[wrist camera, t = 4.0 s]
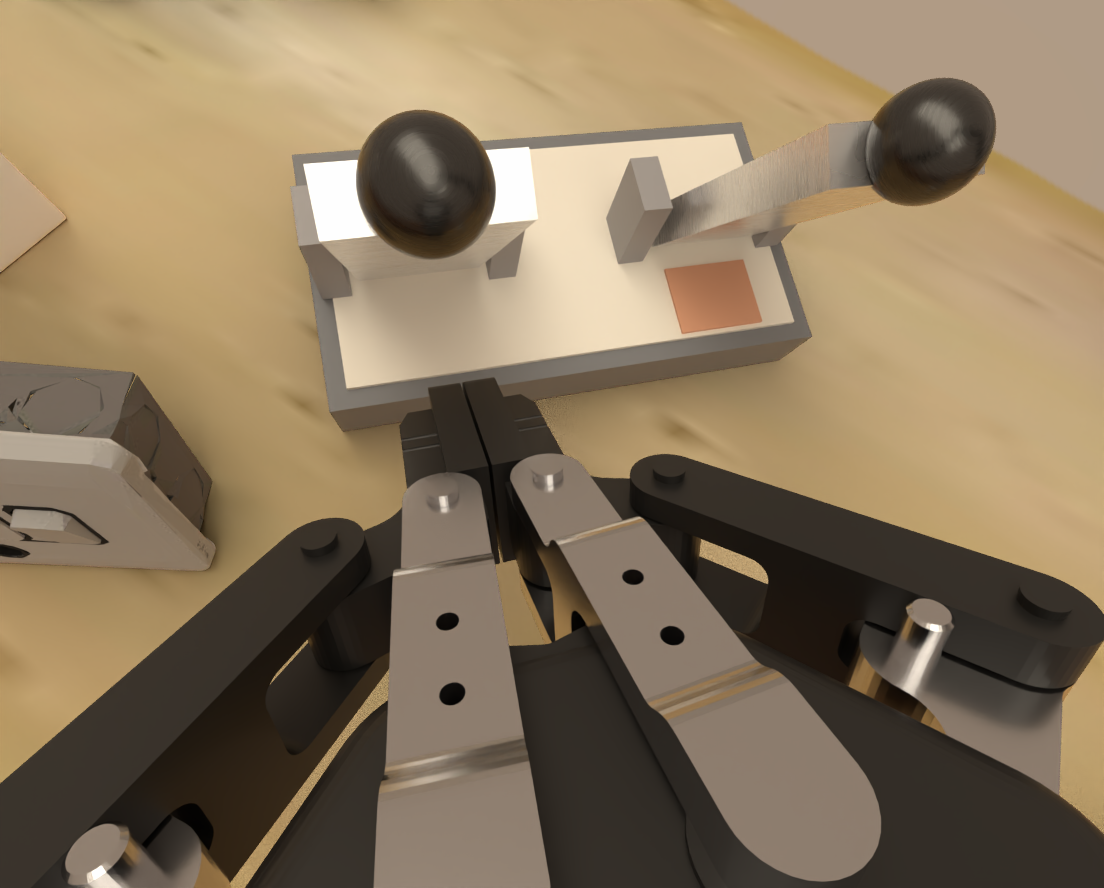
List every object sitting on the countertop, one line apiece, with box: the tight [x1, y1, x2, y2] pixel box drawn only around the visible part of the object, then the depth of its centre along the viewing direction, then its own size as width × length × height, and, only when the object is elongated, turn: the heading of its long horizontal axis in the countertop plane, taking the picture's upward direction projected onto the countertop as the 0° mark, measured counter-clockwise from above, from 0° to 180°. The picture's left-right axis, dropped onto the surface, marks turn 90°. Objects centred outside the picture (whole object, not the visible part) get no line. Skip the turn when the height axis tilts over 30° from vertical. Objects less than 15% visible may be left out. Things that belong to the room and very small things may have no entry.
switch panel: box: [290, 122, 812, 431], centre depth 27 cm, size 22×12×7 cm, turn 102°
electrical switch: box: [0, 361, 216, 571], centre depth 21 cm, size 9×5×9 cm, turn 87°
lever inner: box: [652, 78, 996, 247], centre depth 21 cm, size 5×3×14 cm, turn 102°
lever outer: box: [304, 110, 538, 281], centre depth 18 cm, size 5×3×14 cm, turn 102°
